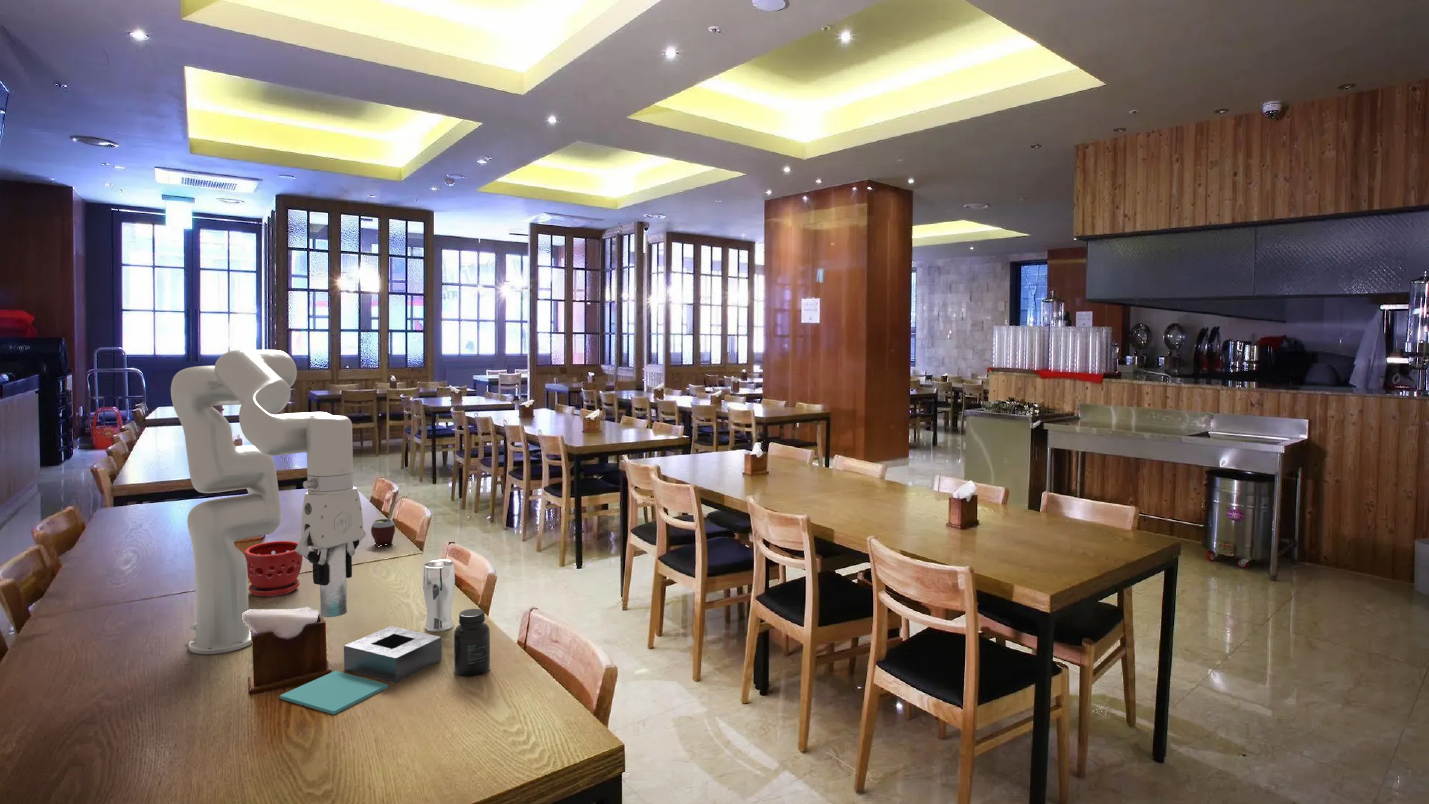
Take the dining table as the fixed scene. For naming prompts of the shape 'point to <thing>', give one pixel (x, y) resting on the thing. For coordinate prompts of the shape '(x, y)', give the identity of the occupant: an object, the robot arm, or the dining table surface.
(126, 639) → the dining table surface
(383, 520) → the mate gourd
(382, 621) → the dining table surface
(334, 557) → the steel peg
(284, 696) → the teal mat
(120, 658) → the dining table surface
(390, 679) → the block
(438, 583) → the beer glass
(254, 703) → the dining table surface
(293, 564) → the plant pot
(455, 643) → the supplement bottle
